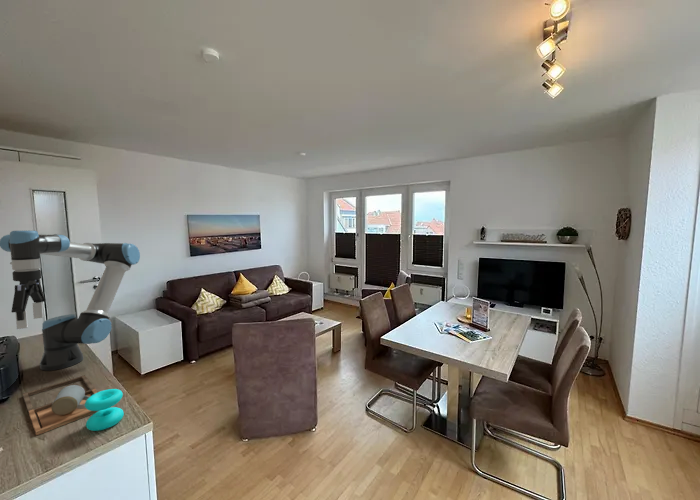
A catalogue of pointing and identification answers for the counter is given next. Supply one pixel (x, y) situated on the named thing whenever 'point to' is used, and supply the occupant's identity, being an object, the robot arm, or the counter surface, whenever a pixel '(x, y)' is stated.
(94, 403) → the donuts
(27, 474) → the counter surface
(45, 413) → the tray
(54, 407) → the ceramic mug
